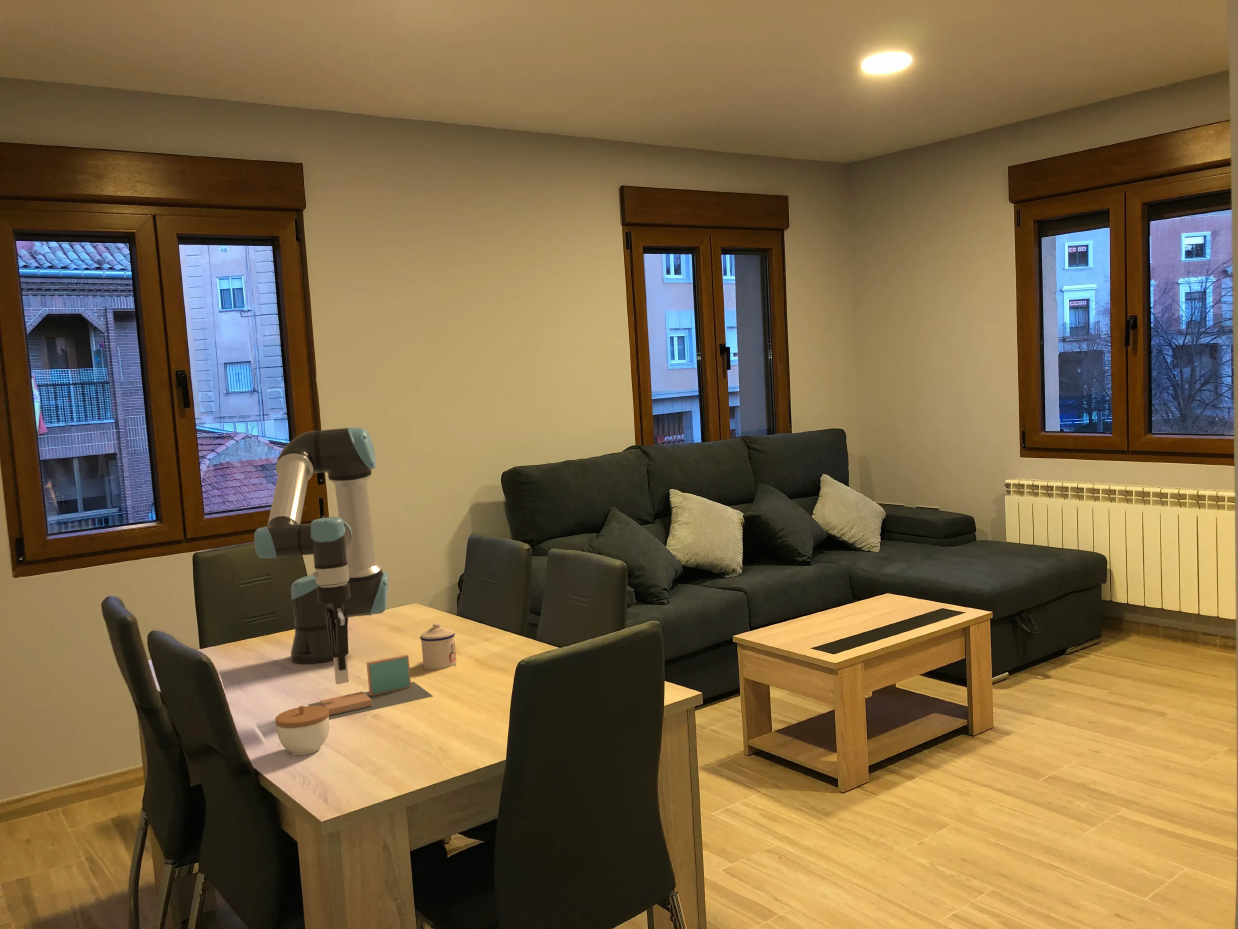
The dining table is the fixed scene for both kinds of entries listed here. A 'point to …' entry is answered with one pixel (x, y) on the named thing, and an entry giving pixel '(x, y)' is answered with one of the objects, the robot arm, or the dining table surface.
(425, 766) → the dining table surface
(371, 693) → the tile far
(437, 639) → the teacup with lid
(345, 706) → the tile near
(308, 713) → the lidded jar
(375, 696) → the mat
